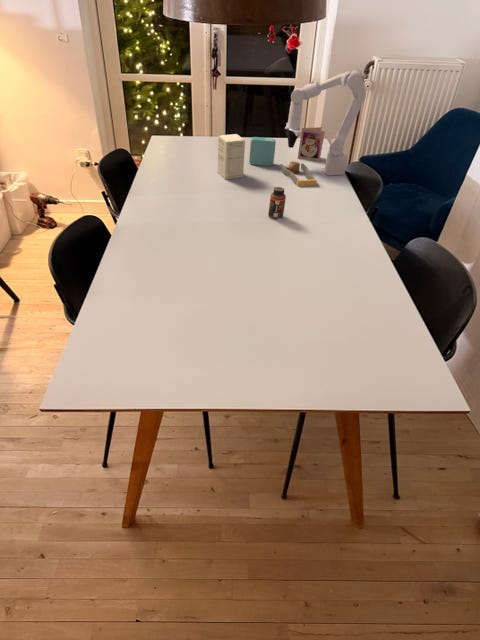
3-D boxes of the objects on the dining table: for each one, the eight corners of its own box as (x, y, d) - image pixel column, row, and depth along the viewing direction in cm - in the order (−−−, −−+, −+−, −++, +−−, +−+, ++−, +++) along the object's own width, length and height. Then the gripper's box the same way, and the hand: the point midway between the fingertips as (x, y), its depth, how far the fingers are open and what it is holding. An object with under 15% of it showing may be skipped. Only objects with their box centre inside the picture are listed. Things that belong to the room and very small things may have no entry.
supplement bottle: (278, 221, 169) (282, 193, 162) (265, 216, 171) (268, 189, 164) (285, 215, 173) (289, 188, 166) (272, 211, 175) (275, 184, 168)
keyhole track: (279, 169, 212) (280, 164, 211) (302, 168, 215) (303, 163, 214) (294, 186, 197) (294, 181, 195) (318, 185, 200) (319, 180, 198)
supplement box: (235, 170, 208) (237, 133, 197) (243, 177, 201) (246, 139, 191) (216, 172, 204) (217, 135, 194) (224, 179, 198) (226, 141, 187)
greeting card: (297, 159, 226) (301, 128, 216) (299, 154, 231) (303, 124, 222) (319, 162, 224) (324, 131, 215) (320, 157, 230) (325, 127, 220)
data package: (273, 163, 218) (275, 138, 211) (273, 166, 215) (275, 141, 207) (249, 161, 219) (251, 136, 211) (248, 164, 215) (250, 139, 208)
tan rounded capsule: (296, 169, 214) (297, 161, 211) (300, 173, 210) (301, 165, 207) (286, 170, 213) (287, 161, 210) (290, 174, 209) (291, 165, 206)
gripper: (281, 113, 207) (278, 142, 215) (292, 121, 196) (288, 152, 205) (295, 113, 209) (291, 142, 217) (306, 121, 198) (302, 152, 206)
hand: (290, 147), depth 211 cm, fingers closed
